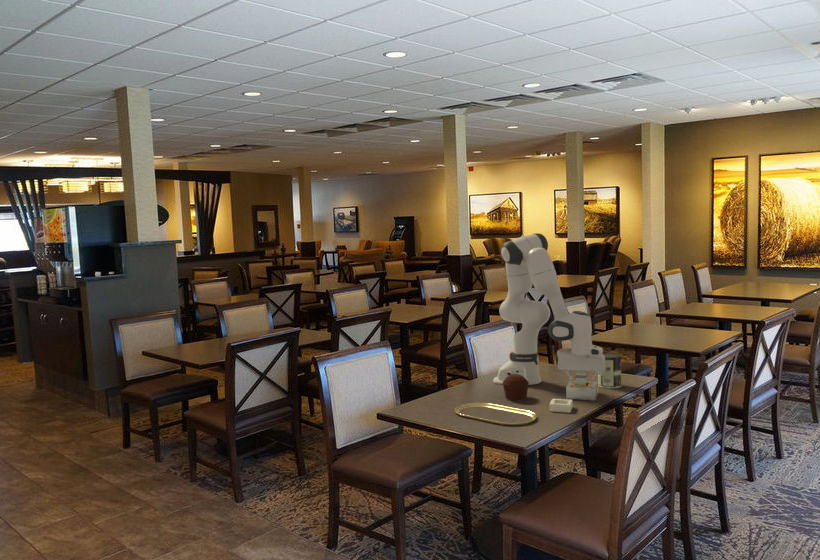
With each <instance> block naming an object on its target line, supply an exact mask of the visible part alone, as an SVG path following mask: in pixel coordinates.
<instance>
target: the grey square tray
mask: <svg viewBox="0 0 820 560" xmlns="http://www.w3.org/2000/svg"><path fill="white" fill-rule="evenodd" d="M572 409H573V399H566V398H565V399H563V398H552V399H551V400H550V402H549V412H555V413H570V414H571V412H572Z"/></svg>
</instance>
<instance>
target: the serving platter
mask: <svg viewBox="0 0 820 560" xmlns="http://www.w3.org/2000/svg"><path fill="white" fill-rule="evenodd" d="M474 407H476V408H478V407H480V408H481V407H482V408H490V409H495V410H501V411H506V412H511V413H515V414H521V415H526V416H529V417H531V420H529V421H522V422H505V421H504V422H503V421H497V420H493V419H487V418H482V417H478V416H473V415H469V414H468V415H467V414H462V413H460V411H461V410H463V409H467V408H474ZM454 412H455V414H457V415H459V416H460V417H463V418H468V419H472V420H478V421H482V422H487V423H491V424H492V423H493V424H497V425H501V426H514V427H515V426H524V425H528V424H531V423H533V422H534V421H535V420H537V418H538V416H537V414H536V413H535V412H532V411H530V410H527V409H521V408H516V407H510V406H505V405H499V404H494V403H488V402H469V403H463V404H460V405H458V406H456V407H455V408H454Z"/></svg>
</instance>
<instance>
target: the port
mask: <svg viewBox="0 0 820 560" xmlns="http://www.w3.org/2000/svg"><path fill="white" fill-rule="evenodd" d="M565 391H566V392H565V394H566V395H565V399H567V400H582V401H596V400H597V398H598V394H599V386H598V381H595V382H591V380H590V381H588V380H587V386H585V385H576V380H572V381H569V380H568V382H567V385H566V387H565Z"/></svg>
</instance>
